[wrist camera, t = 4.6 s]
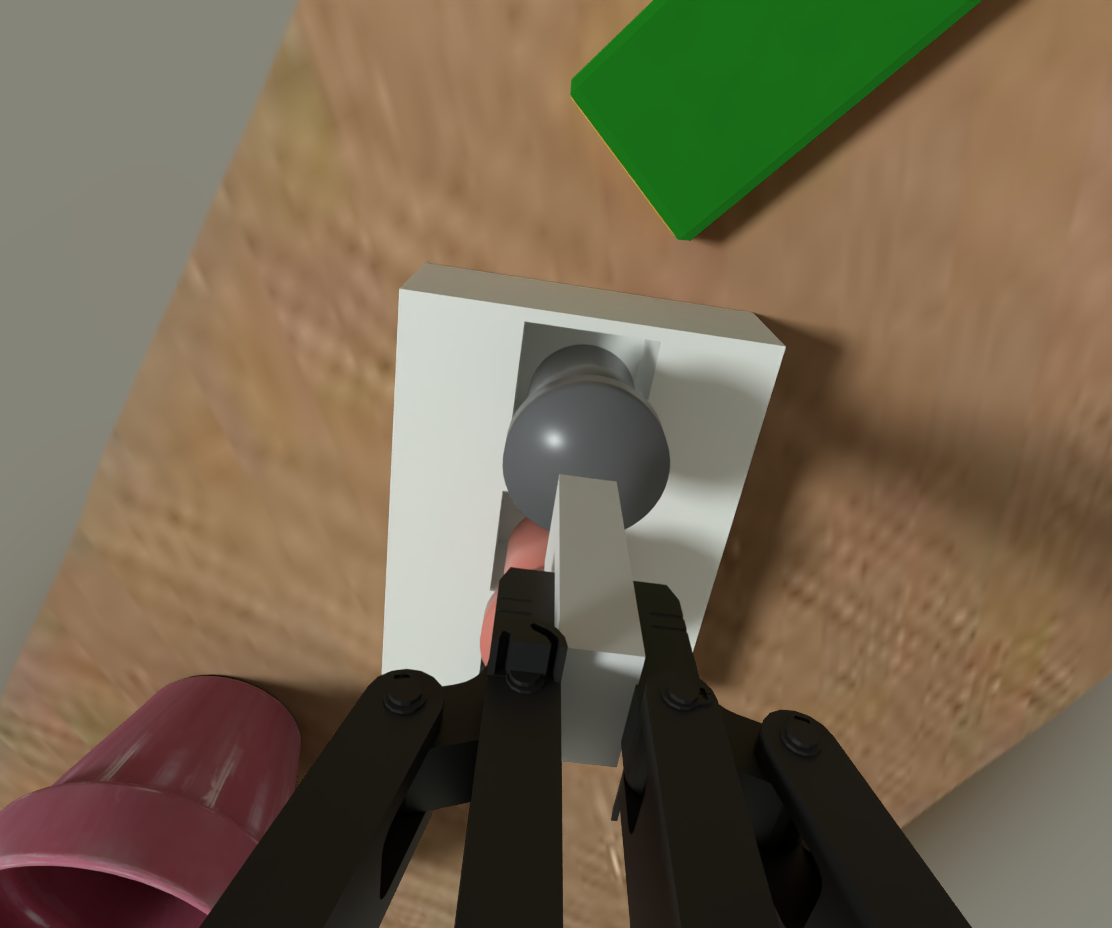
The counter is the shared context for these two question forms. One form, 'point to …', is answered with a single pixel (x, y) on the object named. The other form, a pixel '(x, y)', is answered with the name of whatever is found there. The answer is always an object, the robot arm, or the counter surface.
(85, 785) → the plant pot
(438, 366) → the mount
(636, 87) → the dish sponge
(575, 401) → the knob
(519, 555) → the pink round knob
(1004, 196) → the counter surface
